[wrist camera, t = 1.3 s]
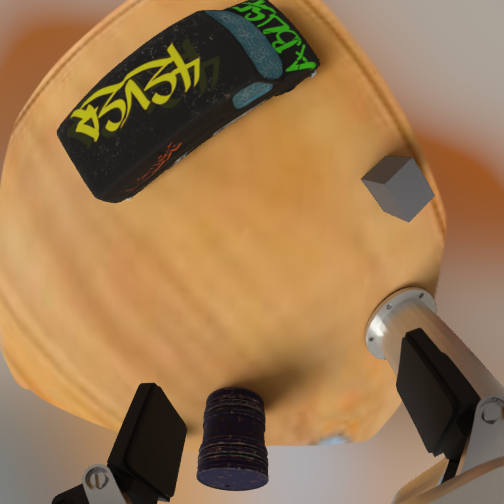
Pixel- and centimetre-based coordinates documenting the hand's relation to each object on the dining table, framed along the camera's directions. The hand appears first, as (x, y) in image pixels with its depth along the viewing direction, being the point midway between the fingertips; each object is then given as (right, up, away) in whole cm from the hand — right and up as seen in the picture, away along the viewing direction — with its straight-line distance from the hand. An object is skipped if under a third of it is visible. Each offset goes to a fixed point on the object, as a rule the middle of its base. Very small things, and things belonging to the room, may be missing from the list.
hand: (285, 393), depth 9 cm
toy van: (-8, +22, +17) cm, 29 cm away
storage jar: (-4, -20, +31) cm, 38 cm away
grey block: (+15, +13, +20) cm, 28 cm away
